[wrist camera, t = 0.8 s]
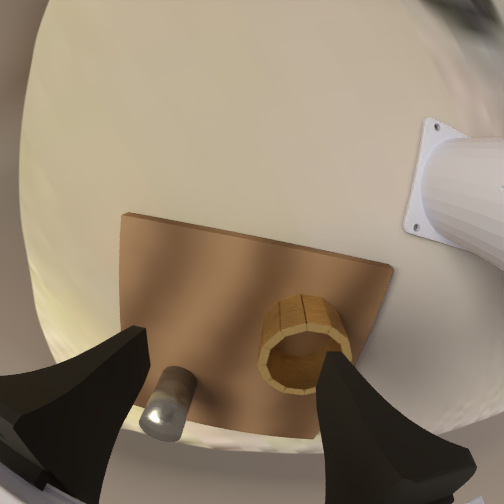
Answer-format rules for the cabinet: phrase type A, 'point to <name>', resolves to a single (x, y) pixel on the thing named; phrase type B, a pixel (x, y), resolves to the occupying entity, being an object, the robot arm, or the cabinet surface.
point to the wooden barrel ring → (292, 322)
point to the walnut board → (235, 314)
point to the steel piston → (169, 404)
